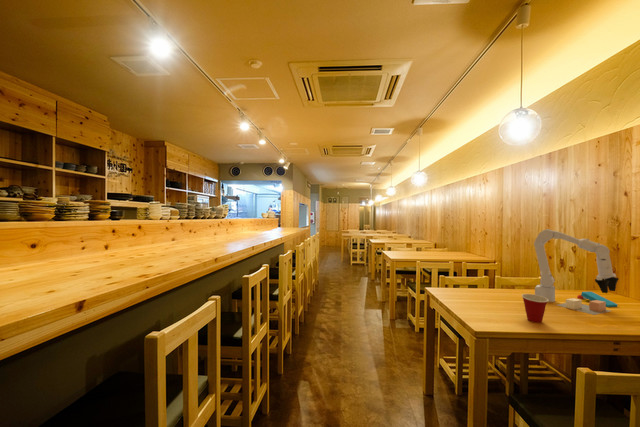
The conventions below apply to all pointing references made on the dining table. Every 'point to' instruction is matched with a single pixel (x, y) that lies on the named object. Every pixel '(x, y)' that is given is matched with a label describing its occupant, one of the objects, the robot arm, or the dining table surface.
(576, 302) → the cream brick
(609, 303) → the teal bar
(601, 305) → the terracotta base brick
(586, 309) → the slate baseplate
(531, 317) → the plastic cup
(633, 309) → the dining table surface
